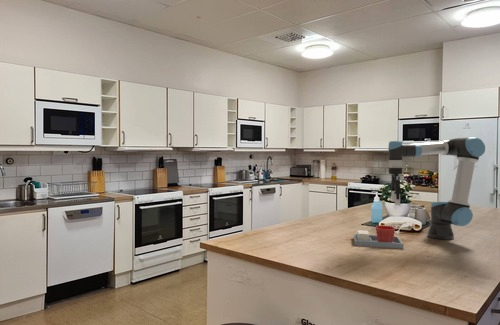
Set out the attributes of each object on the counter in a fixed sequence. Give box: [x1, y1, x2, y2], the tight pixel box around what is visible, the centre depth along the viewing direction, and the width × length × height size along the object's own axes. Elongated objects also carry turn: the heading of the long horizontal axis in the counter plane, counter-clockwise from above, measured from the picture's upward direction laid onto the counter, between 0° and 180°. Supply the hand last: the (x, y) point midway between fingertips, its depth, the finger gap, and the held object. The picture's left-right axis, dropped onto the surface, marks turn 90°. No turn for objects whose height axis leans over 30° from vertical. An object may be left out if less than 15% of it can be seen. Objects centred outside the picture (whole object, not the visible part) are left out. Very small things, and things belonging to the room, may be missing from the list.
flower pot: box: [375, 225, 396, 243], centre depth 214 cm, size 11×11×10 cm
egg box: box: [356, 229, 370, 241], centre depth 217 cm, size 10×6×6 cm, turn 166°
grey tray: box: [353, 233, 404, 251], centre depth 216 cm, size 18×26×4 cm
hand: (395, 203), depth 216 cm, fingers open, 13 cm apart
